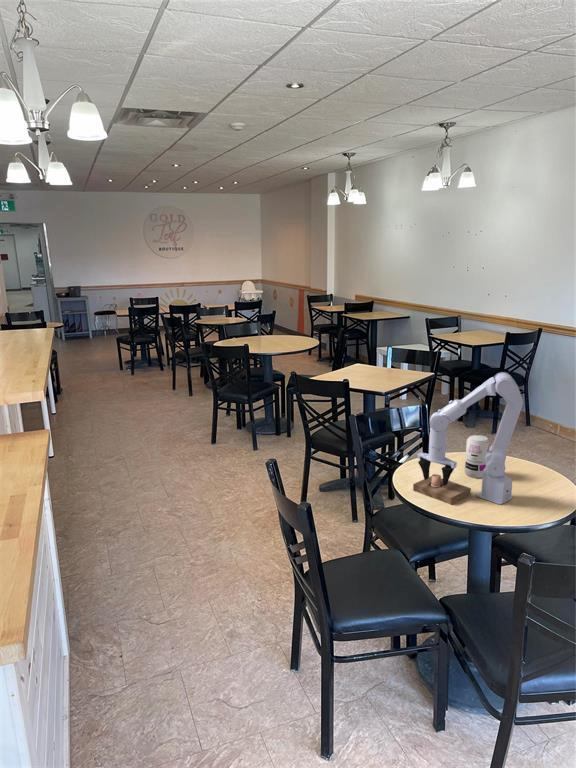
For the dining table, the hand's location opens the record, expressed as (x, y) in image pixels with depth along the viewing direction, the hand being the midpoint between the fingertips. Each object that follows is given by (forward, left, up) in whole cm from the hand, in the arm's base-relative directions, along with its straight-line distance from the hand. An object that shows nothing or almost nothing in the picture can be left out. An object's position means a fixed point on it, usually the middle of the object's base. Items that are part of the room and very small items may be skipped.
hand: (435, 481), depth 198 cm
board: (-2, -1, -4) cm, 4 cm away
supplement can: (-1, -25, -4) cm, 25 cm away
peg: (0, 0, -4) cm, 4 cm away
